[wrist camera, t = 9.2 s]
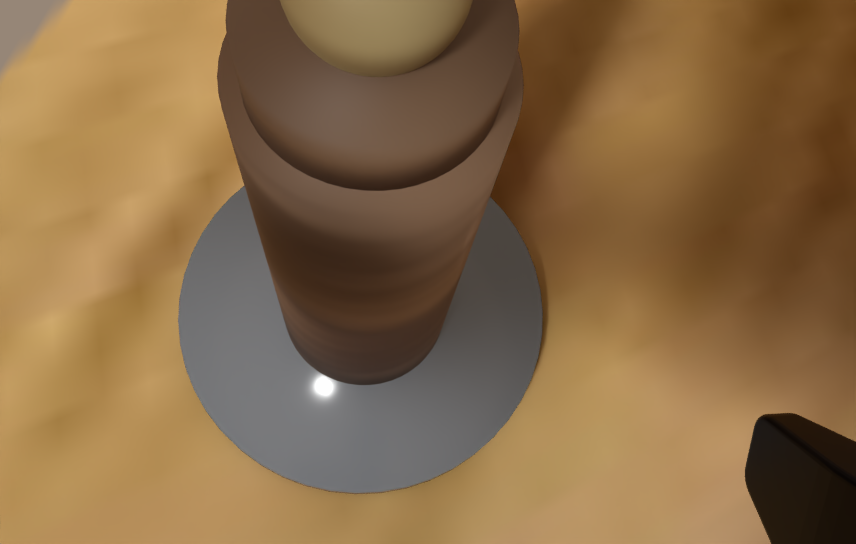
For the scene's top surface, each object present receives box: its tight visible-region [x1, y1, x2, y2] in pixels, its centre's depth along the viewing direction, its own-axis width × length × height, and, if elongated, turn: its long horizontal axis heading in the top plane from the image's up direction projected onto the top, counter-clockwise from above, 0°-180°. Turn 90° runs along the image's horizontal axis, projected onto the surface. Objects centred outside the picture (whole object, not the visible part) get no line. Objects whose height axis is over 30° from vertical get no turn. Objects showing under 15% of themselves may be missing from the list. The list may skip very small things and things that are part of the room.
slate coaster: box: [178, 185, 543, 494], centre depth 22 cm, size 10×10×1 cm
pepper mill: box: [217, 0, 524, 385], centre depth 15 cm, size 4×4×14 cm
